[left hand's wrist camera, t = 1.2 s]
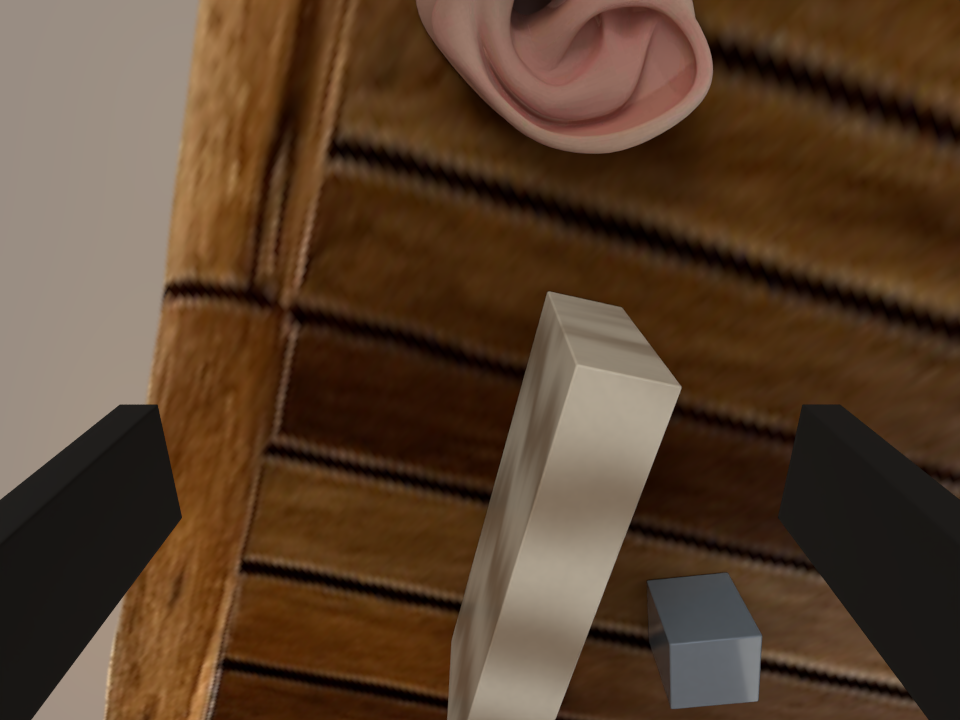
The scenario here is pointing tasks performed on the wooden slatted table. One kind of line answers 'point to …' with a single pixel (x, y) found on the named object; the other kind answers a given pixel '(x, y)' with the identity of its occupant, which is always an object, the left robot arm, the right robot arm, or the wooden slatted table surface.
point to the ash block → (558, 509)
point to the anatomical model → (577, 65)
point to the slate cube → (703, 641)
